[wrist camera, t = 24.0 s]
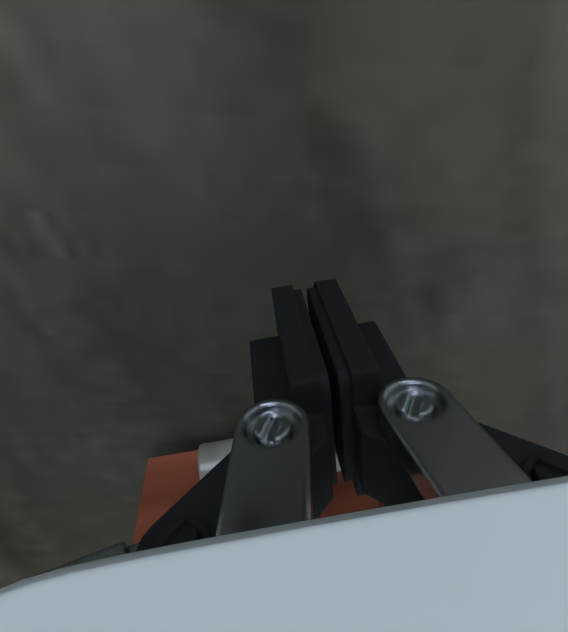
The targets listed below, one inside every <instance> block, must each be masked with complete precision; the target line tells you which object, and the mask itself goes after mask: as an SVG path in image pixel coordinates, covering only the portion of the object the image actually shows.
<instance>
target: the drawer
mask: <svg viewBox="0 0 568 632" xmlns="http://www.w3.org/2000/svg"><path fill="white" fill-rule="evenodd" d="M232 442H233V438H232V439H226V440H220V441H214V442H208V443H203V444H201V445H199V449H198V450H194V451H188V452H182V453H176V454H171V455H165V456H159V457H153V458H149V459H148V462H147V468H146V473H145V479H144V484H143V490H142V495H141V501H140V507H139V512H138V518H137V523H136V529H135V534H134V540H133V544H136V543H138V542H140V541H141V539H142V537H143V535H144V534H145V533H146V532H147V531H148V529H149V528H150V527H151V526H152V525H153V524H154V523H155V522H156V521H157V520H158V519H159V518H160V517H161V516H163V515H164V514H165V513H166V512H167V511H168V510H169V509H170V508H171V507H172V506H173V505H174V504H175V503H176V502H177V501H178V500H180V499H181V498H182V497H183V496H184V495H185V494H186V493H187V492H188V491H189V490H190V489H191V488H192V487H193V486H194V485H196V484H197V483H198V482H199V481H200V480H201V479H202V478H203V477H204V476H205V475H206V474H207V473H208V472H209V471H210V470H212V469H213V468H214V467H215V466H216V465H217V464H218V463H219V462H220V461H221V460H222V459H223V458H224V457H225V456H226V455H228V454H229V453H230V452H231V447H232ZM335 454H336V451H335ZM336 468H337V482H338V483H337V484H333V496H334V498H333V499H332V501H331V502H330V503H329V505H328V506H327V507H326V509H325V510H324V511H323V513H322V514H321V515H320V518H323V517H329V516H335V515H340V514H346V513H352V512H358V511H363V510H369V509H375V508H379V501H377V500H375V499H374V498H372V497H370V496H368V495H366V494H365V495H359V496H357V494H356V491H355V487H354V484H353V481H350V482H344V480H343V476H342V473H341V469H340V465H339V462H338V458H337V455H336Z"/></svg>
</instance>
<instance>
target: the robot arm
mask: <svg viewBox="0 0 568 632" xmlns="http://www.w3.org/2000/svg"><path fill="white" fill-rule="evenodd" d="M271 289H272V297H273V304H274V311H275V318H276V325H277V332H278V336H276V337H270V338H264V339H257V340H251V341H250V353H251V365H252V377H253V390H254V402H255V404H253V405H252V406H250V407H249V408H247V409H246V410H245V411H244V412H243V413H242V414H241V415H240V417H239V418H238V420H237V423H236V426H235V431H234V436H233V442H232V447H231V452H230V453H229V454H228V455H226V456H225V457H224V458H223V459H222V460H221V461H220V462H219V463H218V464H217V465H216V466H215V467H214V468H213V469H212V470H210V471H209V472H208V473H207V474H206V475H205V476H204V477H203V478H202V479H201V480H200V481H199V482H198V483H197V484H196V485H194V486H193V487H192V488H191V489H190V490H189V491H188V492H187V493H186V494H185V495H184V496H183V497H182V498H181V499H180V500H178V501H177V502H176V503H175V504H174V505H173V506H172V507H171V508H170V509H169V510H168V511H167V512H166V513H165V514H164V515H163V516H161V517H160V518H159V519H158V520H157V521H156V522H155V523H154V524H153V525H152V526H151V527H150V528H149V529H148V531H147V532H146V533H145V534H144V535H143V537H142V539H141V541H140V542H138V543H136V544H133V545H130V546H127V544H126V542H125V541H123V542H121V543H118V544H115V545H113V546H110V547H108V548H105V549H102V550H100V551H97V552H95V553H92V554H89V555H87V556H84V557H82V558H79V559H76V560H74V561H71V562H69V563H66V564H63V565H61V566H58V567H56V568H53V569H50V570H48V571H45V572H43V573H40V574H37V575H35V576H32V577H30V578H26V579H23V580H20V581H18V582H15V583H13V584H10V585H8V586H5V587H3V588H0V632H568V456H566V455H564V454H561V453H559V452H556V451H553V450H551V449H548V448H545V447H543V446H540V445H537V444H535V443H532V442H529V441H526V440H524V439H521V438H518V437H516V436H513V435H510V434H508V433H505V432H502V431H500V430H497V429H494V428H491V427H489V426H486V425H483V424H481V423H478V422H477V421H476V420H475V419H474V418H473V417H472V416H471V415H470V414H469V413H468V412H467V410H466V409H465V408H464V407H463V406H462V405H461V404H460V403H459V402H458V401H457V400H456V399H455V398H454V396H453V395H452V394H451V393H450V392H449V391H448V390H447V389H445V388H444V387H443V386H442V385H440V384H438V383H436V382H434V381H431V380H428V379H424V378H419V377H406V376H405V375H404V373H403V371H402V369H401V367H400V366H399V364H398V362H397V360H396V359H395V357H394V355H393V353H392V351H391V350H390V348H389V346H388V344H387V343H386V341H385V339H384V337H383V336H382V334H381V332H380V330H379V328H378V327H377V325H376V324H375V322H366V323H360V324H357V322H356V320H355V318H354V316H353V314H352V312H351V310H350V308H349V306H348V304H347V302H346V299H345V297H344V295H343V293H342V291H341V289H340V287H339V285H338V283H337V281H336V280H335V279H330V280H324V281H317V282H314V288H307V299H308V309H309V313H308V310H307V307H306V304H305V301H304V297H303V294H302V291H301V289H300V290H293V287H292V285H291V286H284V287H277V288H271ZM335 451H336V454H335ZM336 455H337V458H338V462H339V465H340V469H341V473H342V476H343V480H344V482H350V481H353V484H354V487H355V491H356V494H357V496H359V495H365V494H366V495H368V496H370V497H372V498H374V499H375V500H377V501H379V508H375V509H369V510H363V511H358V512H352V513H346V514H340V515H335V516H329V517H323V518H320V515H321V514H322V513H323V511H324V510H325V509H326V507H327V506H328V505H329V503H330V502H331V501H332V499H333V498H334V496H333V484H337V483H338V482H337V468H336Z"/></svg>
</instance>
